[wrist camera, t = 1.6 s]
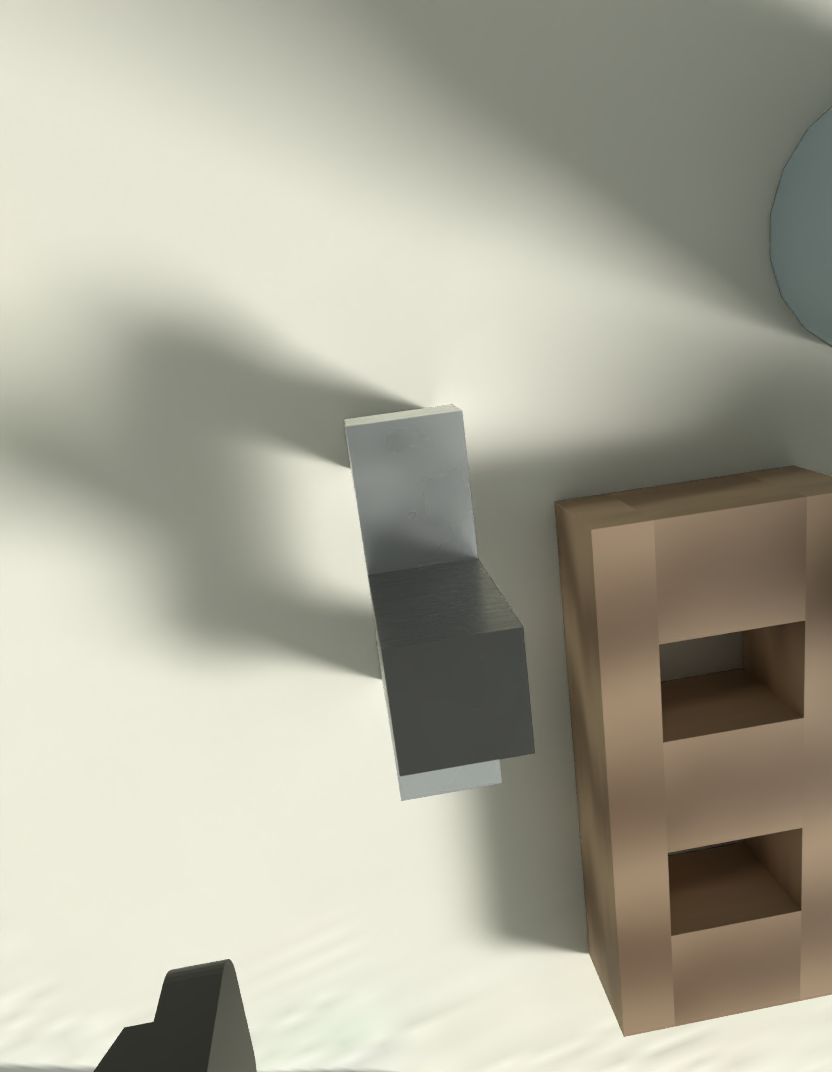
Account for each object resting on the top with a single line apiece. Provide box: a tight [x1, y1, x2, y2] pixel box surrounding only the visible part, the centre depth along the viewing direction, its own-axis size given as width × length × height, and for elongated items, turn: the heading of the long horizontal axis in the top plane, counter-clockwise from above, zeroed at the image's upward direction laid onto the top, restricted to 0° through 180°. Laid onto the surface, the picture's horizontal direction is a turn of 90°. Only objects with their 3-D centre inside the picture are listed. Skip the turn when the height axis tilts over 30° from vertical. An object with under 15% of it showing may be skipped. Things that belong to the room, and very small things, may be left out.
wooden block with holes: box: [555, 466, 832, 1037], centre depth 29 cm, size 20×9×4 cm, turn 7°
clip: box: [344, 404, 535, 801], centre depth 22 cm, size 11×3×12 cm, turn 7°
